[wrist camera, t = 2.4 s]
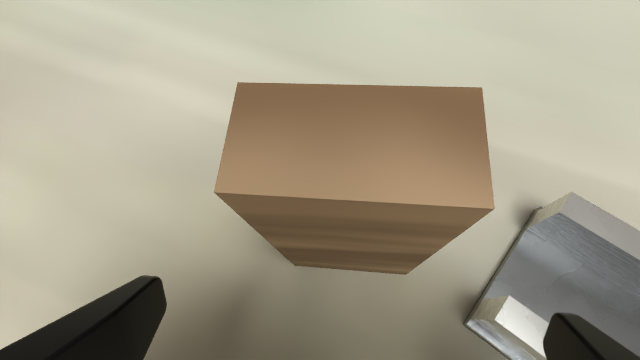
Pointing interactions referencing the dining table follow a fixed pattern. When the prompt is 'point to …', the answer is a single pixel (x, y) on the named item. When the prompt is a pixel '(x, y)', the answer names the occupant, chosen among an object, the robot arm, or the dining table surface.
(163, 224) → the dining table surface
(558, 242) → the door track
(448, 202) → the door panel
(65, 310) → the dining table surface
